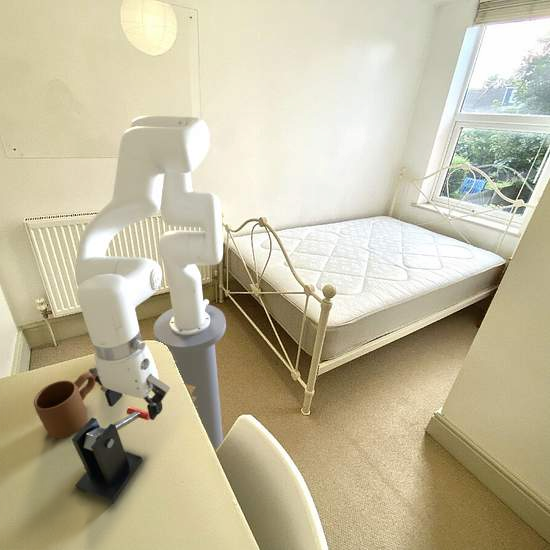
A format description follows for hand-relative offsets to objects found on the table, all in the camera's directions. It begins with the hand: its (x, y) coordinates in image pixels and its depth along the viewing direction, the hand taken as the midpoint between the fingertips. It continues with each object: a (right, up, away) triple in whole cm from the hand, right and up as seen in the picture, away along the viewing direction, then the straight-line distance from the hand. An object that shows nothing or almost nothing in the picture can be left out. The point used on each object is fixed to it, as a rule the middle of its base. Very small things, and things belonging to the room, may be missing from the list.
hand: (136, 407), depth 62 cm
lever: (-2, -3, -4) cm, 5 cm away
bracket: (-3, -11, -4) cm, 12 cm away
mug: (-16, -5, +7) cm, 18 cm away
